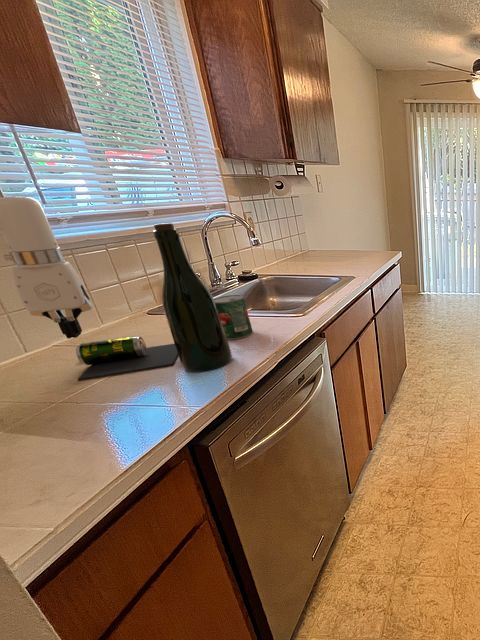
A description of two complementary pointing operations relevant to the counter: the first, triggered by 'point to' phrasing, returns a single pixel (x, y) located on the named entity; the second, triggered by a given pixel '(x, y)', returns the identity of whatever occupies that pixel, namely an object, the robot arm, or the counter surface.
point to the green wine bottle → (189, 307)
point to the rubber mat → (134, 363)
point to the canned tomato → (234, 316)
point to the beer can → (111, 350)
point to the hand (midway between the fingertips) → (74, 336)
